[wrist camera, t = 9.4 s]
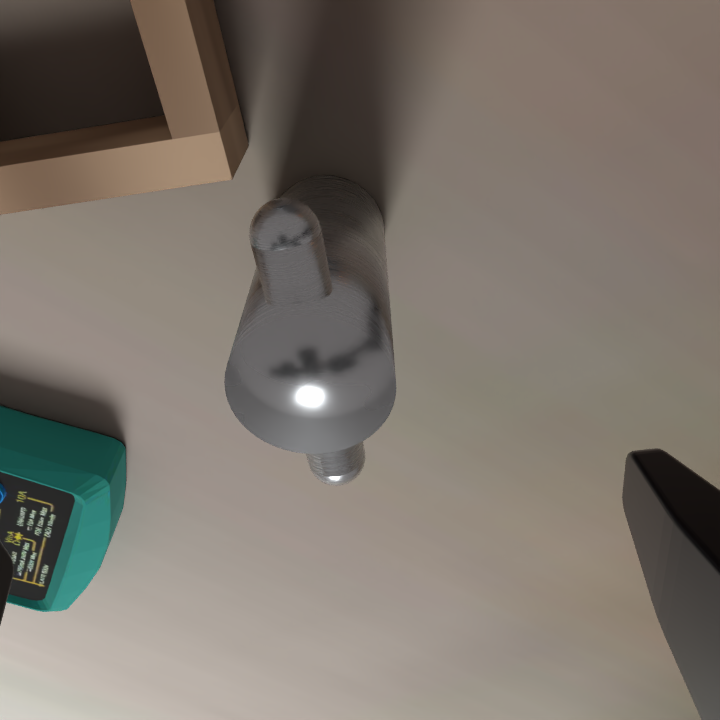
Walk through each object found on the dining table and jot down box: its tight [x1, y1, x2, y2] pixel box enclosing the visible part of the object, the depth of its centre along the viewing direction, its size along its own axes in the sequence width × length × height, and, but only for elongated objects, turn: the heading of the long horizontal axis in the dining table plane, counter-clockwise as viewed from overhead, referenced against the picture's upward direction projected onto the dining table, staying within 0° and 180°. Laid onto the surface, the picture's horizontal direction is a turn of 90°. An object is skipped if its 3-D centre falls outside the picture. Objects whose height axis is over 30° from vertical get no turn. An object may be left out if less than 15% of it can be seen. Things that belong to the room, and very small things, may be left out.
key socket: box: [0, 0, 249, 215], centre depth 13 cm, size 7×7×2 cm
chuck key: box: [225, 176, 396, 486], centre depth 14 cm, size 3×6×7 cm, turn 9°
